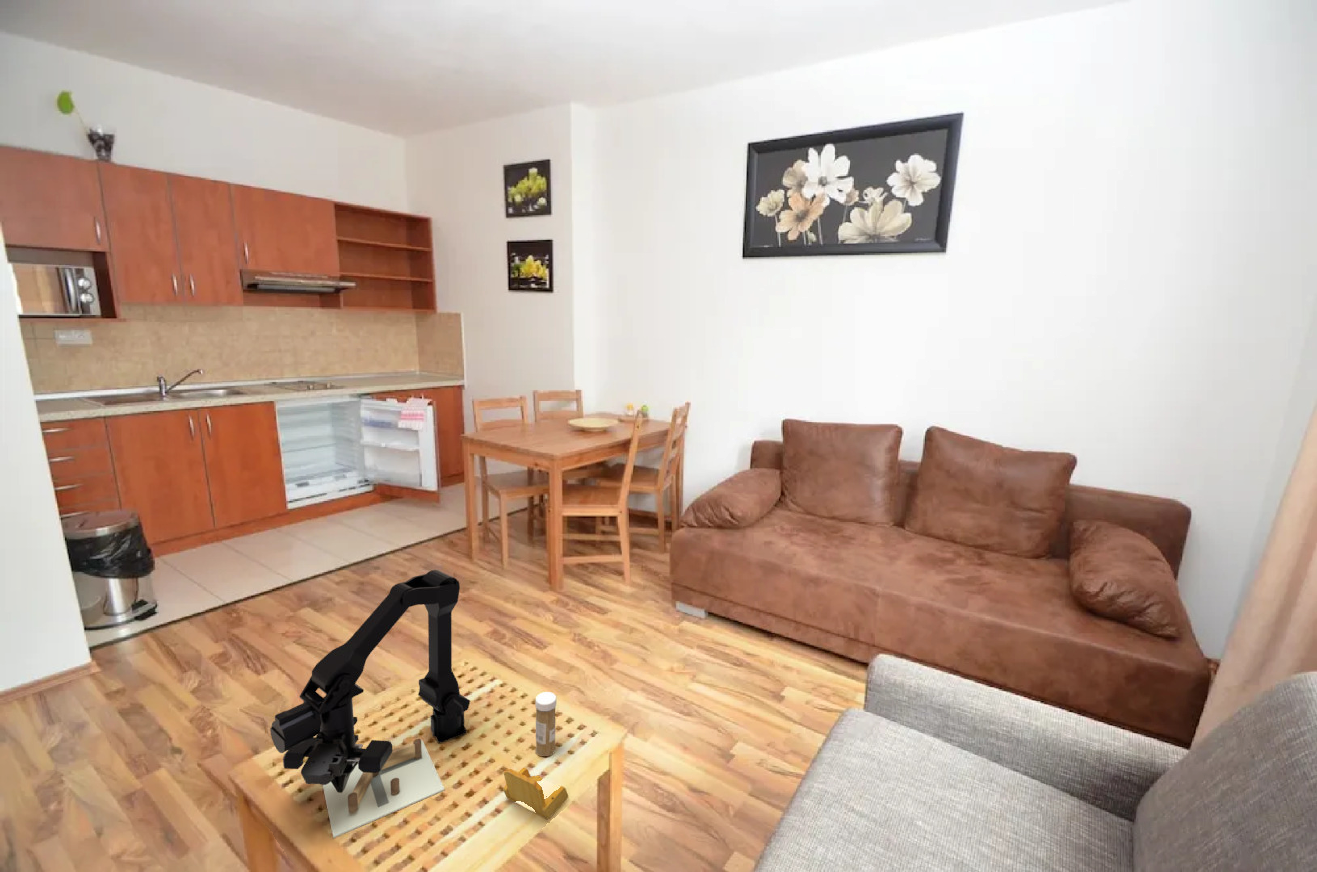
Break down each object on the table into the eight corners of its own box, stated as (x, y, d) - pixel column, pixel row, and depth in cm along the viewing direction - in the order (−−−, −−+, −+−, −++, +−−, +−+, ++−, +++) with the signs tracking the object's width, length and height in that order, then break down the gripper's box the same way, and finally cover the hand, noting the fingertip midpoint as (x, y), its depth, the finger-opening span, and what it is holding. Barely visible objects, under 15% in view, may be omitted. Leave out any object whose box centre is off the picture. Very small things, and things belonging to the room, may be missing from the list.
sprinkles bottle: (558, 753, 128) (559, 699, 126) (539, 760, 126) (540, 706, 123) (550, 740, 132) (551, 688, 130) (531, 747, 130) (532, 694, 127)
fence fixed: (420, 753, 126) (419, 736, 125) (432, 781, 119) (431, 762, 118) (367, 774, 120) (366, 755, 119) (376, 804, 113) (375, 785, 112)
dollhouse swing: (570, 794, 118) (571, 755, 116) (540, 829, 109) (541, 787, 107) (530, 774, 122) (530, 736, 120) (499, 806, 114) (498, 766, 112)
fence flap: (366, 777, 118) (365, 764, 117) (374, 777, 118) (373, 764, 117) (347, 813, 109) (346, 799, 108) (355, 813, 109) (355, 799, 109)
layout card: (422, 740, 130) (422, 739, 130) (444, 790, 117) (444, 788, 117) (321, 778, 118) (321, 776, 118) (333, 838, 105) (333, 836, 105)
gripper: (259, 749, 103) (266, 823, 106) (363, 754, 103) (367, 828, 106) (298, 708, 114) (304, 776, 117) (392, 713, 114) (395, 781, 117)
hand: (341, 790), depth 113 cm, fingers closed
